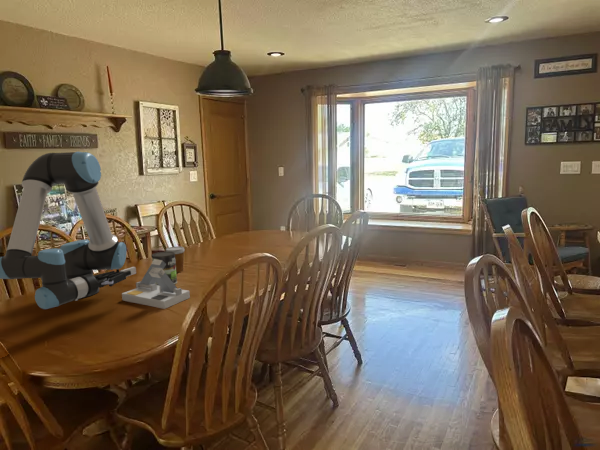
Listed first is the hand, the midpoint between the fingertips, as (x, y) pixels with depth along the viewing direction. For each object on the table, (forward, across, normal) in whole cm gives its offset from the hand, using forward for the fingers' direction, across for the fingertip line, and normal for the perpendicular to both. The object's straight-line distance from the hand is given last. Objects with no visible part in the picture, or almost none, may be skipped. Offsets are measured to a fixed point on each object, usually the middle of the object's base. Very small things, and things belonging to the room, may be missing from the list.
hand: (134, 270), depth 177 cm
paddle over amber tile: (+6, 0, -8) cm, 10 cm away
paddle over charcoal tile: (+5, +14, -8) cm, 17 cm away
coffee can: (+22, -6, -13) cm, 26 cm away
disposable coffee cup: (+40, -16, -13) cm, 45 cm away
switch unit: (+4, +6, -13) cm, 15 cm away
